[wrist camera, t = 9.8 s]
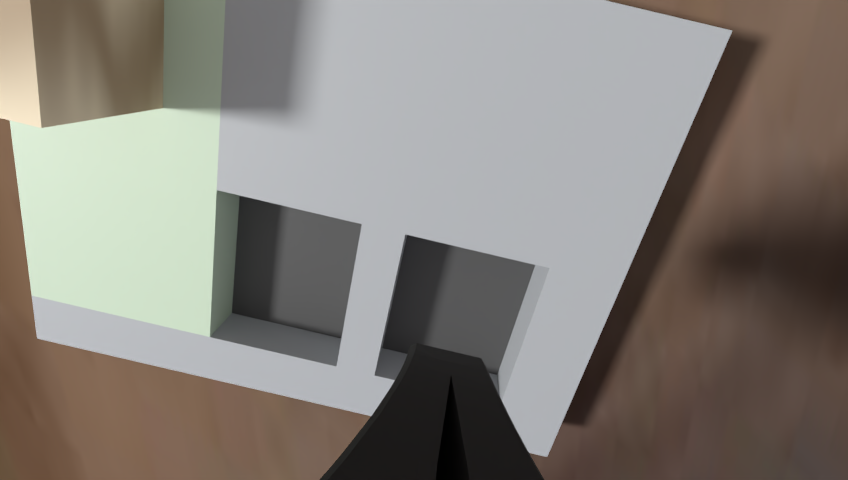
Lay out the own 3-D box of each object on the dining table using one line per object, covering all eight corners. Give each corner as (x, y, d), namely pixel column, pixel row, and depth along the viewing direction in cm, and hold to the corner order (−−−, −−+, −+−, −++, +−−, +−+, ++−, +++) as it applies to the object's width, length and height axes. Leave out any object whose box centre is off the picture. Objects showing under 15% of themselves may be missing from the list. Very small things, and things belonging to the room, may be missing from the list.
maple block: (162, 108, 14) (41, 128, 10) (23, 73, 14) (-156, 79, 10) (164, -55, 13) (20, -109, 9) (6, -94, 13) (-215, -168, 9)
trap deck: (539, 420, 20) (547, 456, 18) (76, 312, 20) (37, 338, 18) (697, 34, 14) (732, 30, 12) (39, -123, 14) (-24, -150, 12)
